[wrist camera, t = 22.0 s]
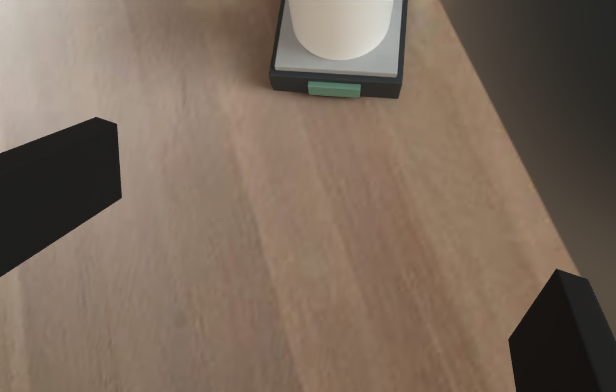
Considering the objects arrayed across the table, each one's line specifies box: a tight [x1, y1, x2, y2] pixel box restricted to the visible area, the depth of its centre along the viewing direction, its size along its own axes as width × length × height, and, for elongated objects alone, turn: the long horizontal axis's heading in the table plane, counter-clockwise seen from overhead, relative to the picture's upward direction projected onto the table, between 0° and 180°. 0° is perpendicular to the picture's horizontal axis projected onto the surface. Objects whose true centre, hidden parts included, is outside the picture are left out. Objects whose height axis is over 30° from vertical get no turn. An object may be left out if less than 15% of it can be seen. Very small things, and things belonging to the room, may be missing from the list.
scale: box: [269, 0, 408, 99], centre depth 35 cm, size 11×12×3 cm
